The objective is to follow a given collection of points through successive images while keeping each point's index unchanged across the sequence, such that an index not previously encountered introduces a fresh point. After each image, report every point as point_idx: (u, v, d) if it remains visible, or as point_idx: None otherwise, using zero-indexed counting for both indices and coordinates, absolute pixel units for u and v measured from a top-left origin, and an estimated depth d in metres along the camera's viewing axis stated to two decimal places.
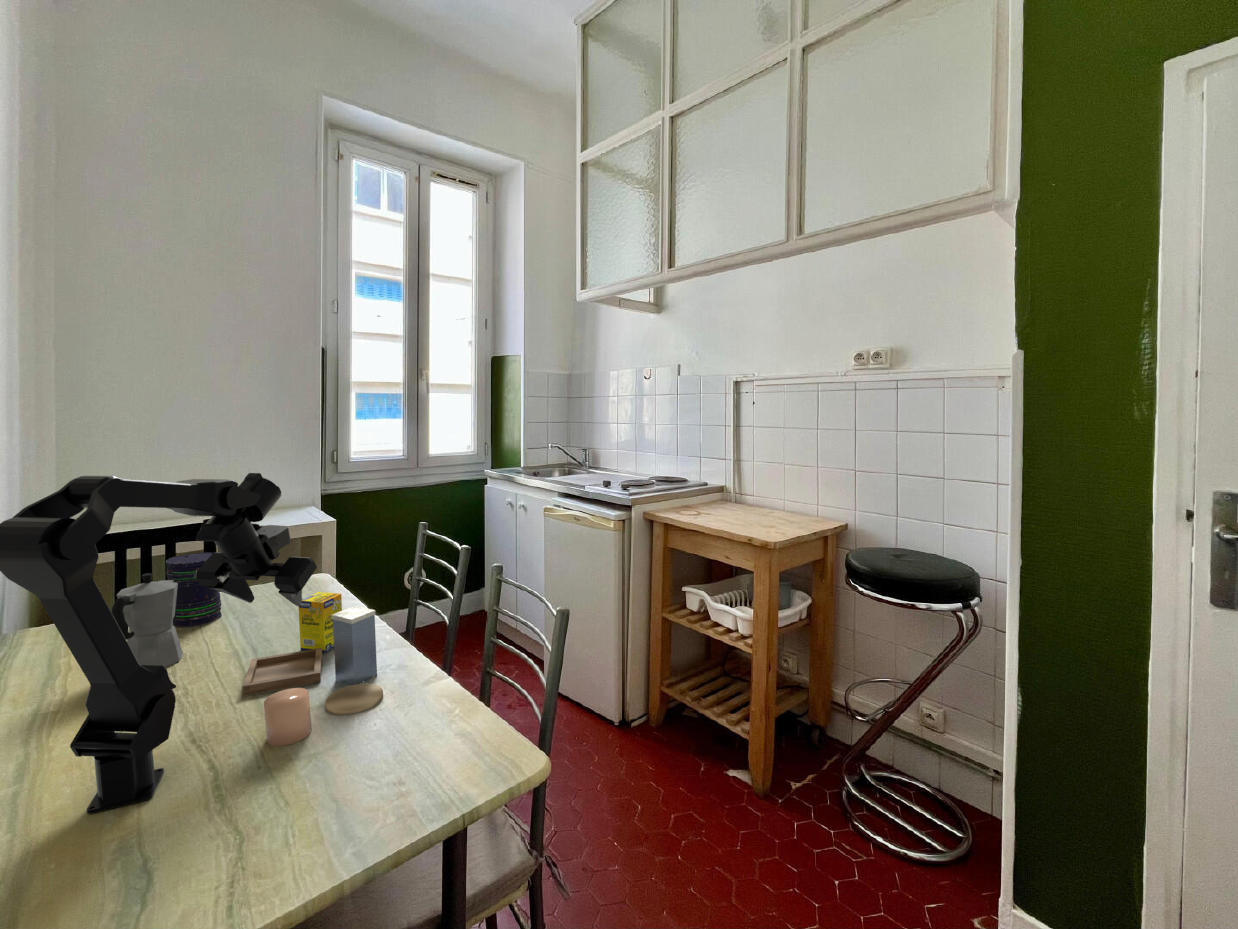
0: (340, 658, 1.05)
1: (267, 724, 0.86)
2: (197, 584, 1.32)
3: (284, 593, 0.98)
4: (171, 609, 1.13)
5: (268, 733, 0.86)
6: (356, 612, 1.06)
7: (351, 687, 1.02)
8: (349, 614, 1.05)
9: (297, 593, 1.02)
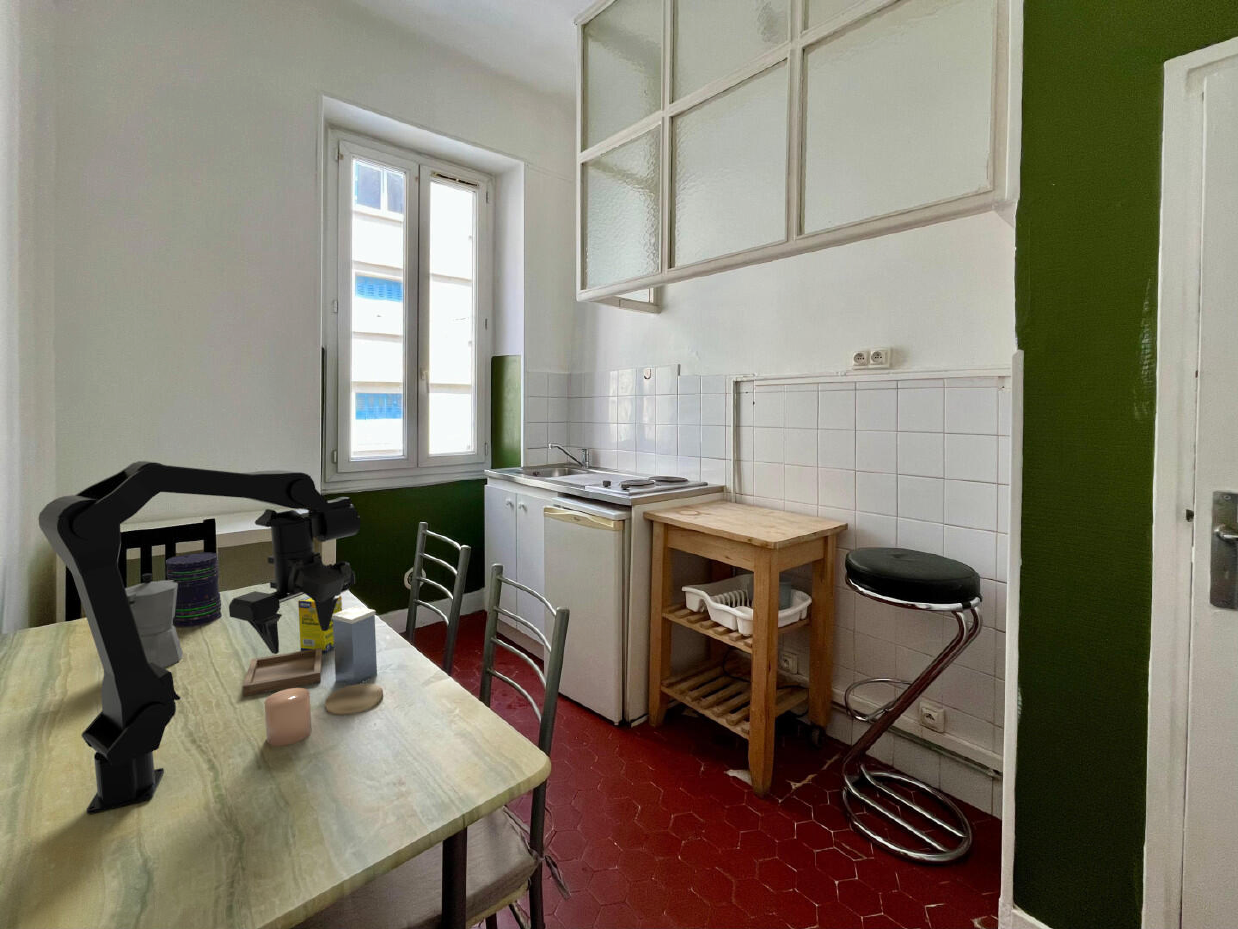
0: (340, 658, 1.05)
1: (268, 724, 0.86)
2: (197, 584, 1.32)
3: None
4: (171, 609, 1.13)
5: (268, 733, 0.86)
6: (356, 612, 1.06)
7: (351, 687, 1.02)
8: (349, 614, 1.05)
9: (264, 634, 0.89)
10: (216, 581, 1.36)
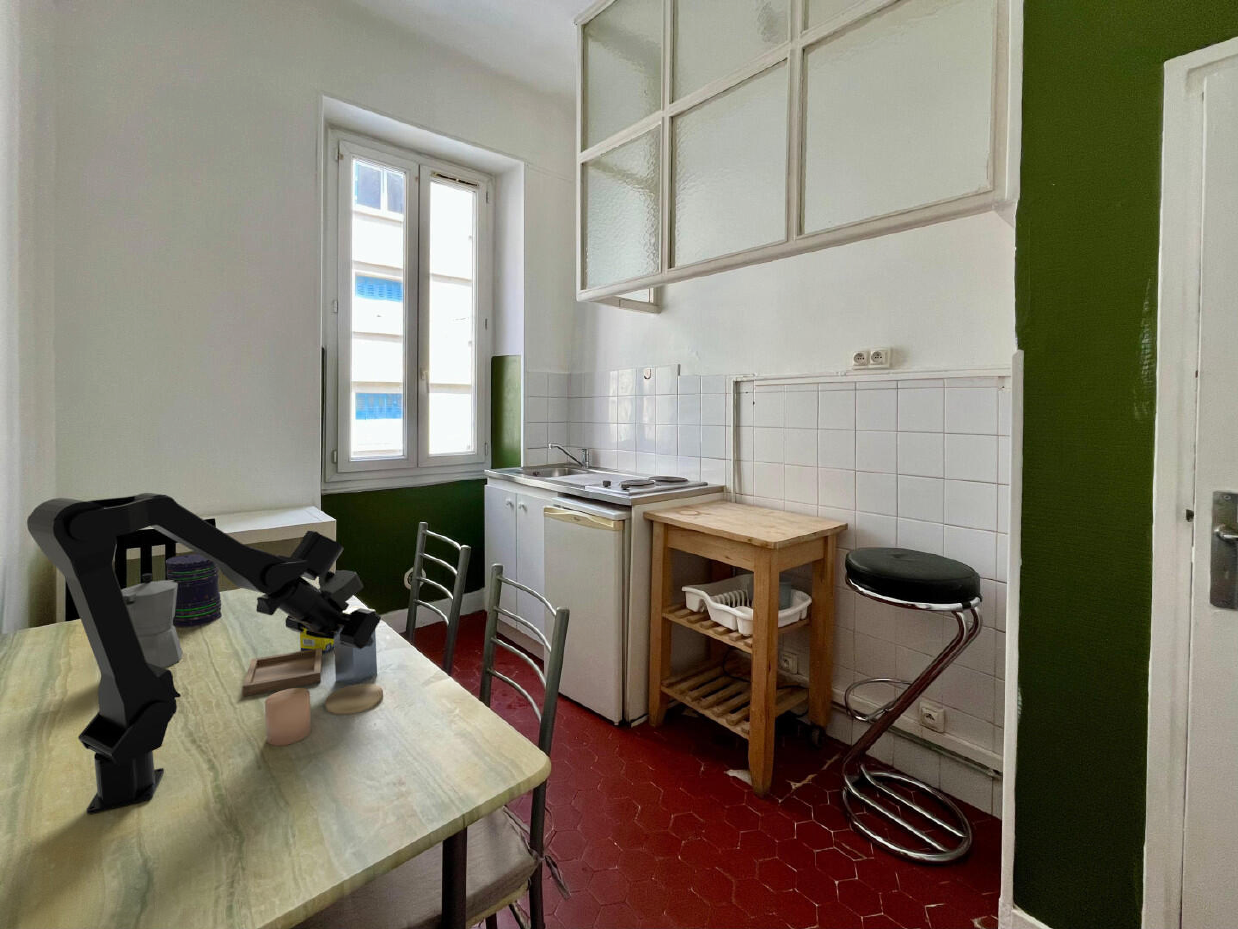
0: (340, 658, 1.05)
1: (268, 724, 0.86)
2: (197, 584, 1.32)
3: None
4: (171, 609, 1.13)
5: (269, 733, 0.86)
6: None
7: (351, 687, 1.02)
8: None
9: None
10: (216, 581, 1.36)
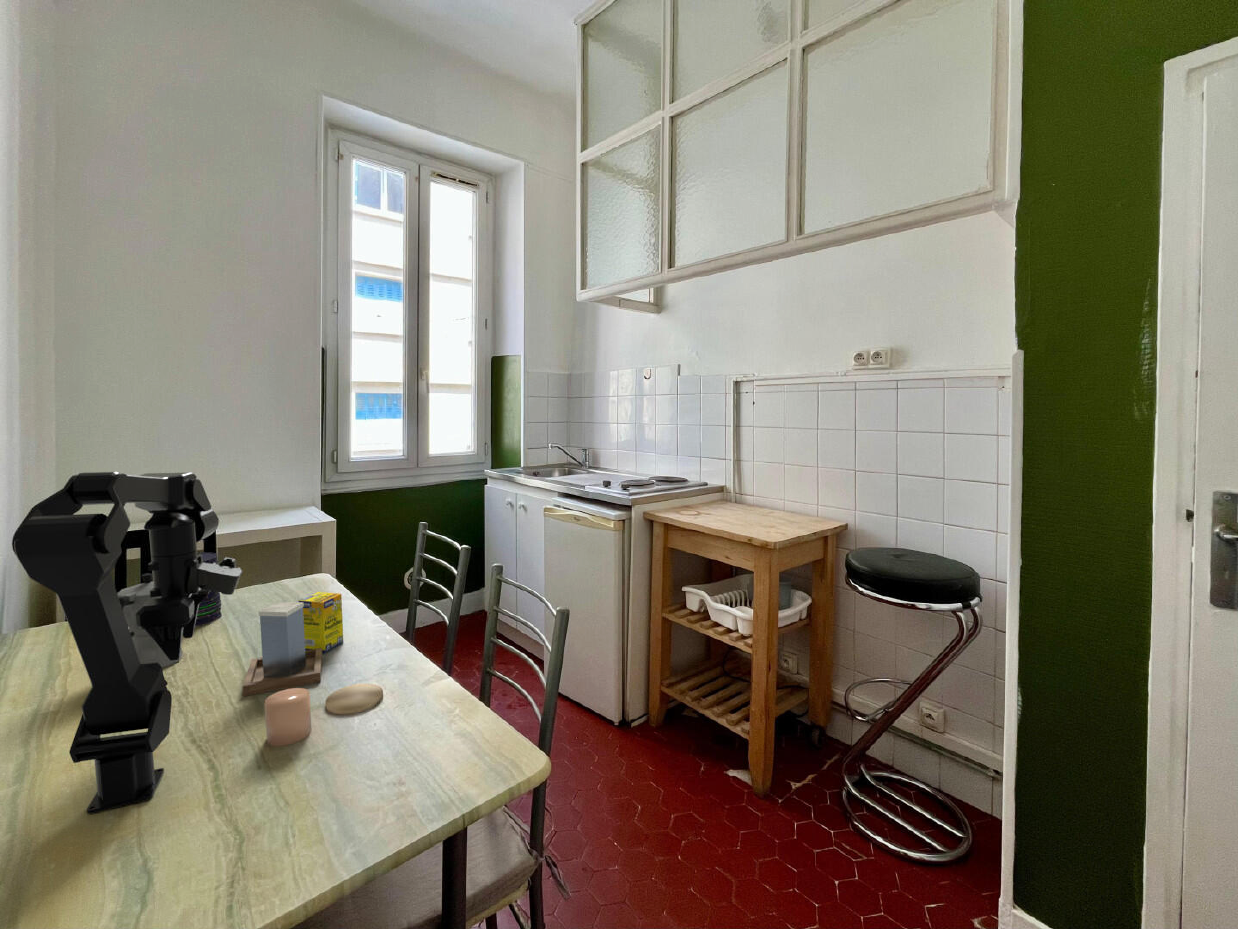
0: (270, 653, 1.06)
1: (269, 725, 0.86)
2: None
3: None
4: None
5: (270, 734, 0.86)
6: (284, 606, 1.07)
7: (351, 687, 1.02)
8: (279, 608, 1.06)
9: (168, 641, 0.86)
10: None
